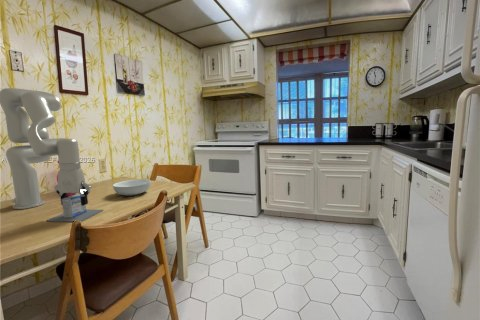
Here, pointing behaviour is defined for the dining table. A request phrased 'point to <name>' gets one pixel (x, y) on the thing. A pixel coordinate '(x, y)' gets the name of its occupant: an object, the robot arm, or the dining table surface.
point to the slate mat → (80, 217)
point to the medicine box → (73, 206)
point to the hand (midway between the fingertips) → (74, 204)
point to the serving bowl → (131, 187)
